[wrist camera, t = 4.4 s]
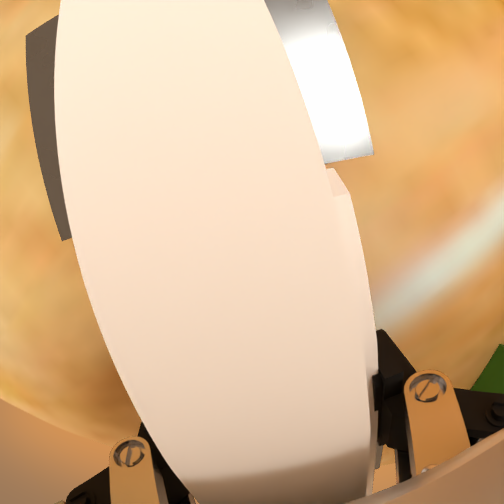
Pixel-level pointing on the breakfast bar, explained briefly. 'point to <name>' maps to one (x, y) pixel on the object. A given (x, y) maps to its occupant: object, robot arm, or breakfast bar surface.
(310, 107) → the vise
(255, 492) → the cream elongated piece
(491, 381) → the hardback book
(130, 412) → the breakfast bar surface
